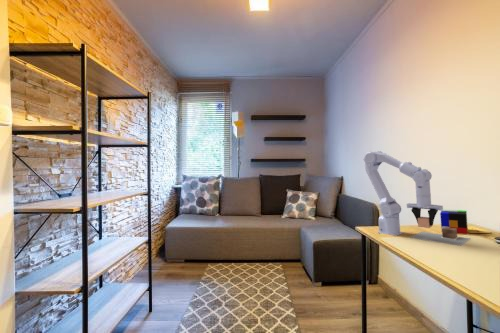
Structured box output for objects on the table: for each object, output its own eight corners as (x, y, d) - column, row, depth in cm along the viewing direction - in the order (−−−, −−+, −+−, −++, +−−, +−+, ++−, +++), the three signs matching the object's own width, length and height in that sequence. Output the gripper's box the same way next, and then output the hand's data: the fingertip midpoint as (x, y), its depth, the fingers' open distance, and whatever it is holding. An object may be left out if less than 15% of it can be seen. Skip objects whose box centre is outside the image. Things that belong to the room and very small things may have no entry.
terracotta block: (418, 226, 127) (417, 218, 127) (421, 224, 129) (421, 216, 129) (428, 228, 123) (428, 219, 123) (432, 226, 126) (432, 217, 126)
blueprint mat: (409, 238, 129) (409, 237, 129) (421, 232, 138) (421, 231, 138) (460, 246, 113) (460, 245, 113) (470, 239, 122) (470, 238, 122)
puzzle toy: (441, 232, 135) (440, 213, 135) (443, 228, 143) (442, 209, 142) (467, 235, 128) (465, 214, 128) (467, 230, 136) (466, 210, 136)
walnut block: (442, 237, 126) (442, 228, 126) (445, 235, 129) (445, 227, 129) (454, 239, 122) (453, 230, 122) (457, 236, 125) (456, 228, 125)
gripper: (403, 195, 129) (405, 223, 130) (438, 197, 118) (440, 228, 118) (409, 193, 134) (411, 221, 134) (443, 195, 122) (445, 225, 122)
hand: (425, 224), depth 126 cm, fingers closed on terracotta block, 4 cm apart
